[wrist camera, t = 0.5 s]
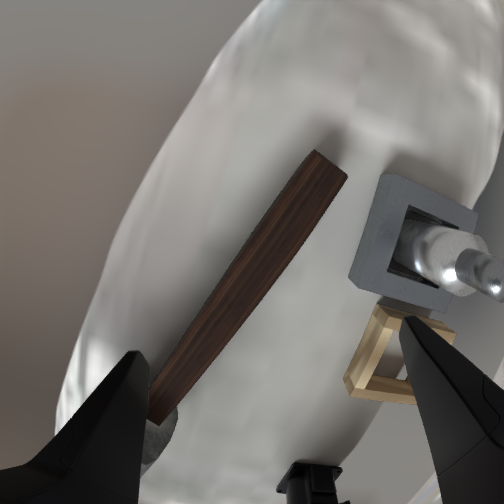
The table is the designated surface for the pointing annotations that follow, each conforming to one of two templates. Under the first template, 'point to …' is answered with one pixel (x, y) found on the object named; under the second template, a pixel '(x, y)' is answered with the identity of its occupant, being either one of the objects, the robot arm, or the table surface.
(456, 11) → the table surface
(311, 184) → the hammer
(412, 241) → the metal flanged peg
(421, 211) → the socket
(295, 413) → the table surface
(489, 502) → the robot arm
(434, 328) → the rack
